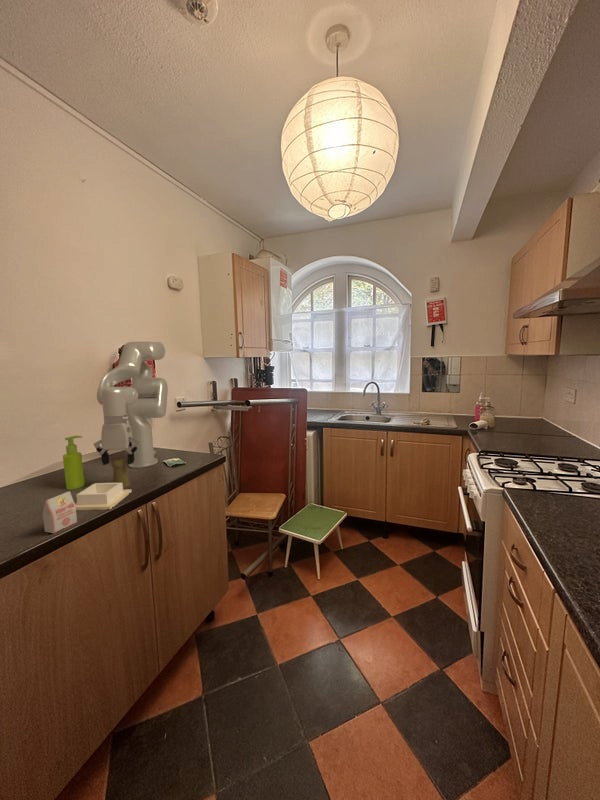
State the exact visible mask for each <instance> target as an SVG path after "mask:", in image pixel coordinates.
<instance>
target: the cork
mask: <svg viewBox="0 0 600 800" xmlns="http://www.w3.org/2000/svg"><path fill="white" fill-rule="evenodd" d="M127 465H128V460H127V459H126V458H122V457H121V458H116V459H113V460H112V462H111V466H112V469H113V473H112V474H113V475H112V476H113V477H112V483H122V484H123V489H126V488H128V487H130V486H131V483H130V479H129V474H128V470H127ZM129 485H130V486H129Z"/></svg>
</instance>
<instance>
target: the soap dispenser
mask: <svg viewBox="0 0 600 800" xmlns="http://www.w3.org/2000/svg"><path fill="white" fill-rule="evenodd" d="M79 438H83V435H82V436H81V435H73V436H67V437H66V438H65V437H64V439H65V441H67V445H66V446H65V451H66V454H64V455H62V460H63V469H64V479H65V488H66V490H77V489H80V488H82V487H84V486H85V476H84V467H83V458H82V452H79V451H78V449H77V448H78V445H77V444H75V443H74V439H79Z"/></svg>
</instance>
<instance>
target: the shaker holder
mask: <svg viewBox="0 0 600 800" xmlns="http://www.w3.org/2000/svg"><path fill="white" fill-rule="evenodd" d="M129 493H130V494H131V493H132V489H129V488H128V489H126V488H125V489H124V488H123V484H122V483H113V482H95V483H92V484H91V485H90V486H88V487H86V488H85V489H83V490H81V491H80V492H78V493H76V495H75V496H76V501H74V503H75V506H76V511H96V510H98V511H99V510H101V511H102V510H104V511H106V510H107V509H109V510H111V509H113V508H114V507H115V506H117V504H119V503H120V502H121V501H123V500H124V499H125V498H126V497H127V496H129V495H130V494H129ZM112 507H113V508H112Z"/></svg>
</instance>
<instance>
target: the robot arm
mask: <svg viewBox="0 0 600 800" xmlns="http://www.w3.org/2000/svg"><path fill="white" fill-rule="evenodd" d="M165 355H166V347H165V346H164V344H163V343H162V342H161V341H129V342H126V343H125V344H124V346H123V348H122V350H121V354H120V358H119V360H118V365H117V366H116V367H114V368H113V369H111V370H110V371H108V372H107V373H106V374H105V375H104V376H103V377H102V378H101V380H100V381H99V382H100V383H99V385H98V388H97V390H96V391H97V392H96V400H97V402H98V403H99V405H101V406H102V411H103V414H102V415H103V424H102V426H101V433H100V434H101V435H100V437H101V438H100V440H97V441H95V442H94V443H93V447H94V448H95V450H96V451H97V452H98V453H99V455H100V456H101V462H102V466H105V465H108V464H109V463H110V457H109V456H110V455H109V452H108V451H120V450H121V451H122V450H124V451H126V452H127V453H128V454H127V465H128V467H130V468H133V469H137V468H138V469H141V468H146V467H151V466H154V465H156V464H157V463H158V461H159V460H158V458H156V457H155V454H157V451H156V450H154V442H153V428H152V425H151V423H150V422H149V421H148V419H160V418H161V419H162V418H163V417H164V416H165V415H166V413H167V405H168V393H169V391H168V390H169V389H168V383H167V380H165V378H162V377H153V372H154V371H153V369H152V367H151V366H150V365H149V364H148V363H147V362H146V361H159V360H162V359H164V357H165ZM129 379H132V380H131V381H132V382H131V386H115V385H117V384H120V383H122V382H125V381H127V380H129Z"/></svg>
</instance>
